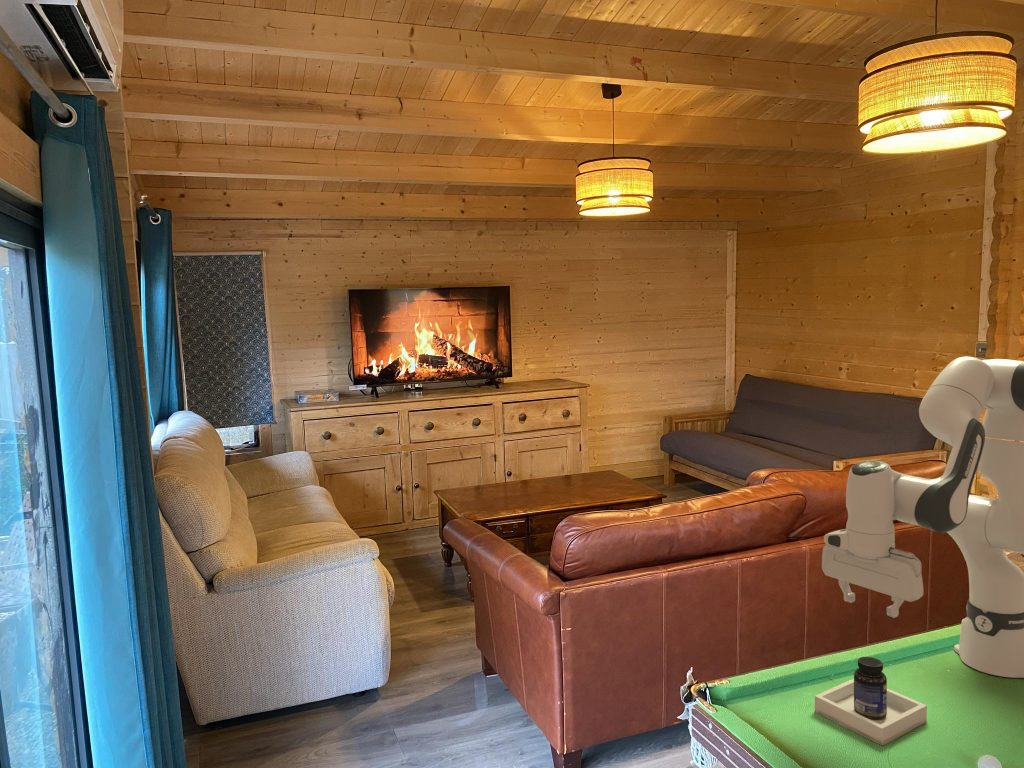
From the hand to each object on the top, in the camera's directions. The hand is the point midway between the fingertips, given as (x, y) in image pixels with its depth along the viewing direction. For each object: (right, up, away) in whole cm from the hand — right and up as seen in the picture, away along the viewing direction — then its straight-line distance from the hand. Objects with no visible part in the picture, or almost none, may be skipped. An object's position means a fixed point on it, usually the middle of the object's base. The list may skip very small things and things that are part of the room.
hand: (870, 608), depth 150 cm
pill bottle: (+1, -22, +2) cm, 23 cm away
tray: (+1, -23, +2) cm, 23 cm away
